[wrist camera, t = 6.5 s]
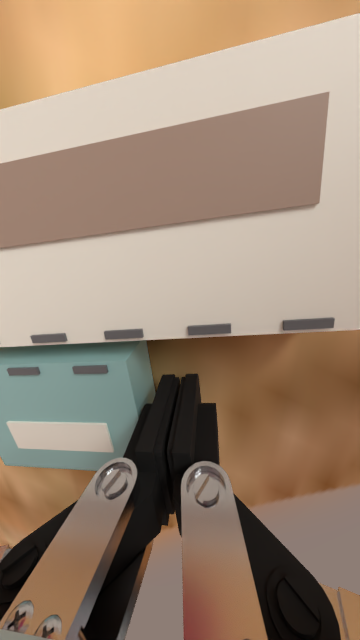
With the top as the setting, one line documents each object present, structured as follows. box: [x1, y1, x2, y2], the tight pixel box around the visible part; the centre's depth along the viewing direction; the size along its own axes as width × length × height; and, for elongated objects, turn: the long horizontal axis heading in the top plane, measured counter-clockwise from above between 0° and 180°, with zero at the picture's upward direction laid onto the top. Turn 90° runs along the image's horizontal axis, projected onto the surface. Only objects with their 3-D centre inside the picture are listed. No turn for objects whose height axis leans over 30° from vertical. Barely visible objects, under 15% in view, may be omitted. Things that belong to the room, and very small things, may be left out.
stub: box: [0, 340, 156, 471], centre depth 10 cm, size 8×6×3 cm
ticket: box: [0, 13, 360, 347], centre depth 8 cm, size 18×7×3 cm, turn 96°
